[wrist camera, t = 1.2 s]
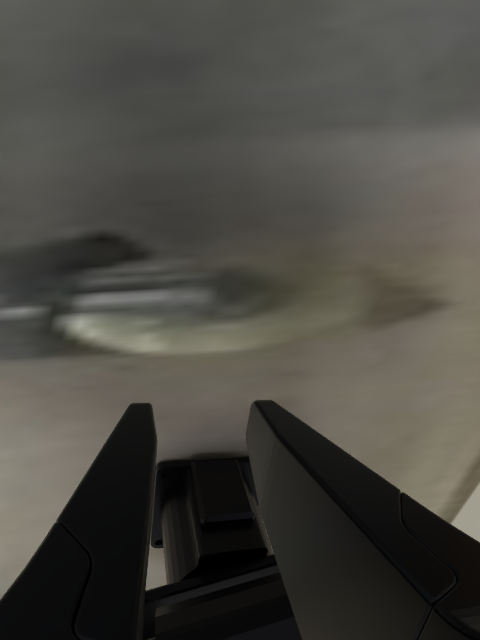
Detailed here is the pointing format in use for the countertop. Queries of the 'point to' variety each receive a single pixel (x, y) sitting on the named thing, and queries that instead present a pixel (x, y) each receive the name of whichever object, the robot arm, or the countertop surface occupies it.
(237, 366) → the countertop surface
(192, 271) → the countertop surface
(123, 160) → the countertop surface
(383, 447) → the countertop surface
